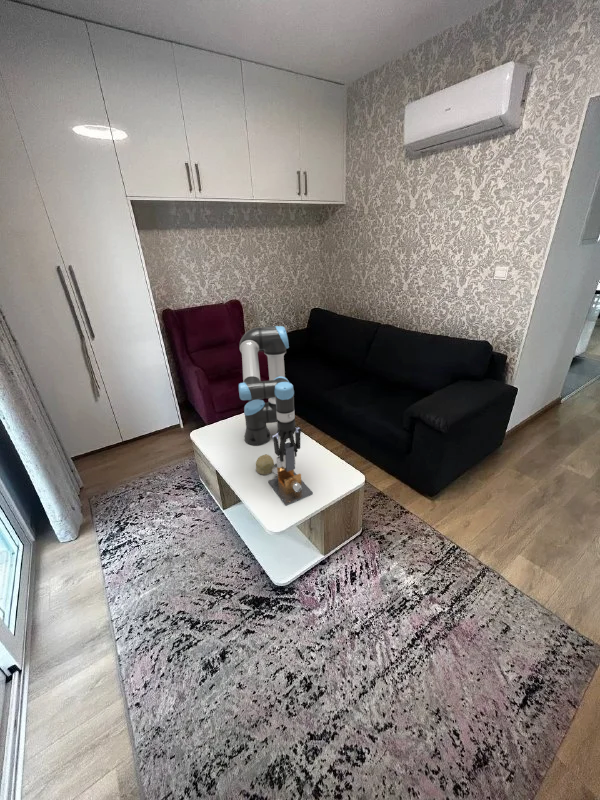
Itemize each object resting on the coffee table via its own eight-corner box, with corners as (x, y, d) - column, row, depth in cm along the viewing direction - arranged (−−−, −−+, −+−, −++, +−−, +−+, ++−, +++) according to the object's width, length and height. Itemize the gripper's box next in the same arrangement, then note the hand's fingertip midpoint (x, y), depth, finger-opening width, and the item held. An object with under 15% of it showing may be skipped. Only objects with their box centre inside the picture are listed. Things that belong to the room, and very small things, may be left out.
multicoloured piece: (265, 478, 160) (263, 458, 155) (290, 469, 166) (289, 449, 161) (285, 505, 143) (283, 484, 138) (312, 494, 149) (312, 473, 144)
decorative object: (262, 482, 164) (271, 470, 158) (248, 467, 165) (256, 456, 160) (272, 472, 171) (281, 461, 166) (259, 459, 173) (267, 448, 167)
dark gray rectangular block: (282, 467, 149) (281, 444, 144) (290, 464, 150) (289, 442, 145) (287, 471, 146) (285, 449, 140) (294, 468, 147) (293, 446, 142)
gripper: (271, 428, 131) (275, 475, 141) (308, 417, 138) (309, 462, 148) (263, 420, 137) (267, 466, 147) (299, 410, 144) (301, 454, 154)
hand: (288, 464), depth 147 cm, fingers closed on dark gray rectangular block, 4 cm apart
